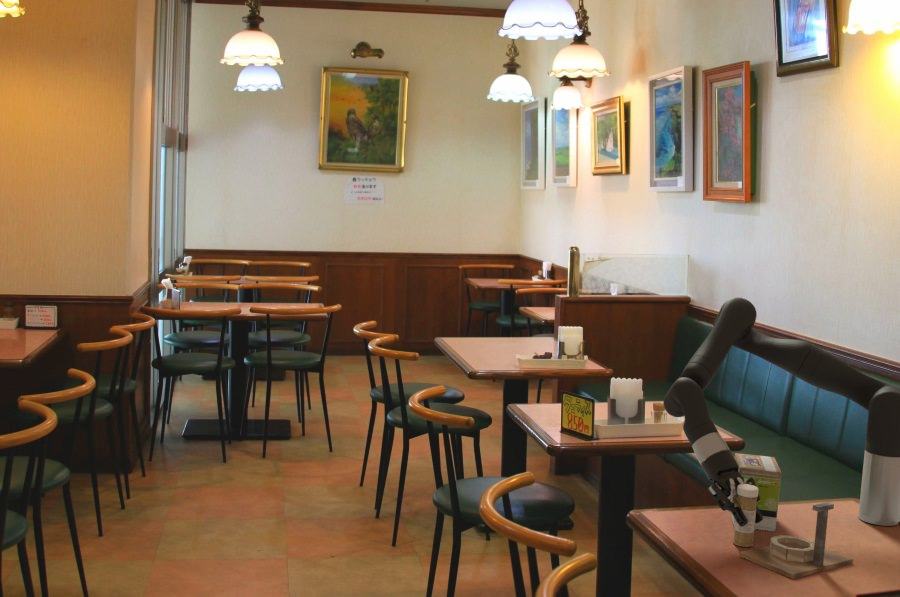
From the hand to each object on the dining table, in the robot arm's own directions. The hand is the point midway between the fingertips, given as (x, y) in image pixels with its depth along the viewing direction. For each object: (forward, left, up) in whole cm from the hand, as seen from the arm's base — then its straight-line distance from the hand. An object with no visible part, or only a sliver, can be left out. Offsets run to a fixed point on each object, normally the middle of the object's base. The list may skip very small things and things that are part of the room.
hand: (751, 522), depth 225 cm
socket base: (-3, +10, -6) cm, 12 cm away
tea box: (-16, -13, -6) cm, 21 cm away
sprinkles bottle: (0, -2, -6) cm, 6 cm away
